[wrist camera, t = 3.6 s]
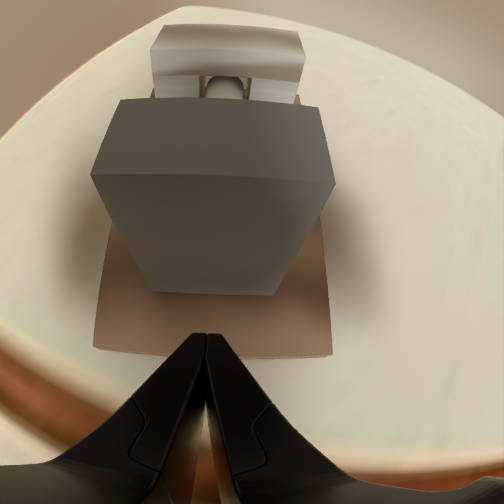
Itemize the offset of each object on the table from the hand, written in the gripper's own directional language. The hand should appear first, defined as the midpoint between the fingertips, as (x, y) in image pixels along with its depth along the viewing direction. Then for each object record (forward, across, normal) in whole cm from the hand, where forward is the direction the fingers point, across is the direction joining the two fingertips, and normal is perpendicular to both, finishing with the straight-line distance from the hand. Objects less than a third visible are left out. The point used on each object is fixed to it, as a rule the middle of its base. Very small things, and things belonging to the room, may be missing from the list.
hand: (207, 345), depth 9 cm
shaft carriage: (+11, 0, -3) cm, 11 cm away
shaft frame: (+12, 0, -2) cm, 13 cm away
